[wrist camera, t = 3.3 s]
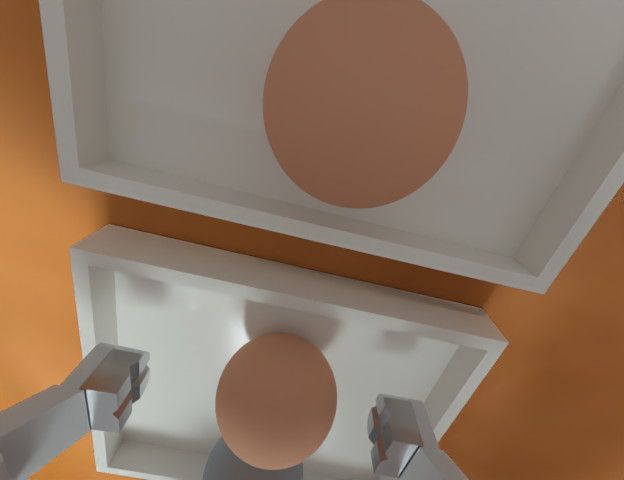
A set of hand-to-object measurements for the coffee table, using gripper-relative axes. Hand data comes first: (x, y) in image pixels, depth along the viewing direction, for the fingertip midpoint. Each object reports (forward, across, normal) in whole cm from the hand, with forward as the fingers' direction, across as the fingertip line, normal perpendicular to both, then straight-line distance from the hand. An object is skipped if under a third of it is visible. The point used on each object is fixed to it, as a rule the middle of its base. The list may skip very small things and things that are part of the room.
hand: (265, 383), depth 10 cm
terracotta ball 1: (+2, 0, 0) cm, 2 cm away
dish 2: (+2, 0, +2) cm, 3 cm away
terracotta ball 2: (+2, -1, -9) cm, 9 cm away
